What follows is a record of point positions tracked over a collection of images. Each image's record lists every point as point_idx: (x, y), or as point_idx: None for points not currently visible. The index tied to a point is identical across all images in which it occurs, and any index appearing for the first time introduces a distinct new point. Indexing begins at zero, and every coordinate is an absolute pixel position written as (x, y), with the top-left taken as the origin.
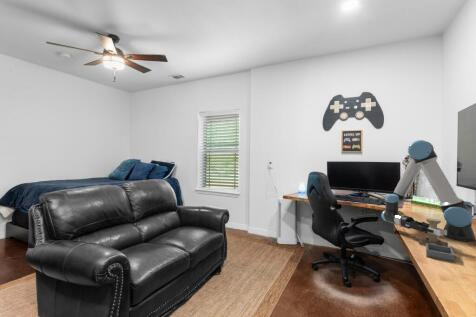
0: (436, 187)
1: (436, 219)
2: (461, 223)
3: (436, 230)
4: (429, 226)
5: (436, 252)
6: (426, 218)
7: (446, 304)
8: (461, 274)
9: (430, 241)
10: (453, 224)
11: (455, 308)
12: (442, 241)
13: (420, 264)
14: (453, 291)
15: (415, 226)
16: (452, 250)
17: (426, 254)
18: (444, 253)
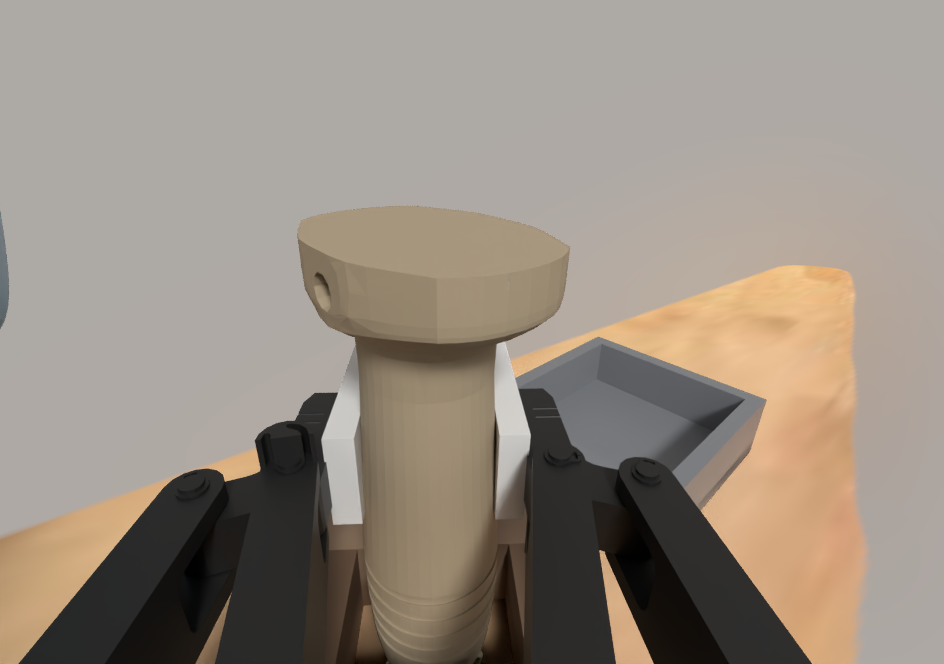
0: None
1: (333, 228)
2: (2, 245)
3: (505, 353)
4: (485, 418)
5: (694, 377)
6: (504, 270)
7: (841, 276)
8: (665, 327)
9: (519, 577)
10: (2, 318)
11: (821, 270)
12: (334, 547)
13: (850, 394)
14: (784, 292)
15: (774, 648)
16: (534, 371)
17: (739, 458)
18: (648, 356)
